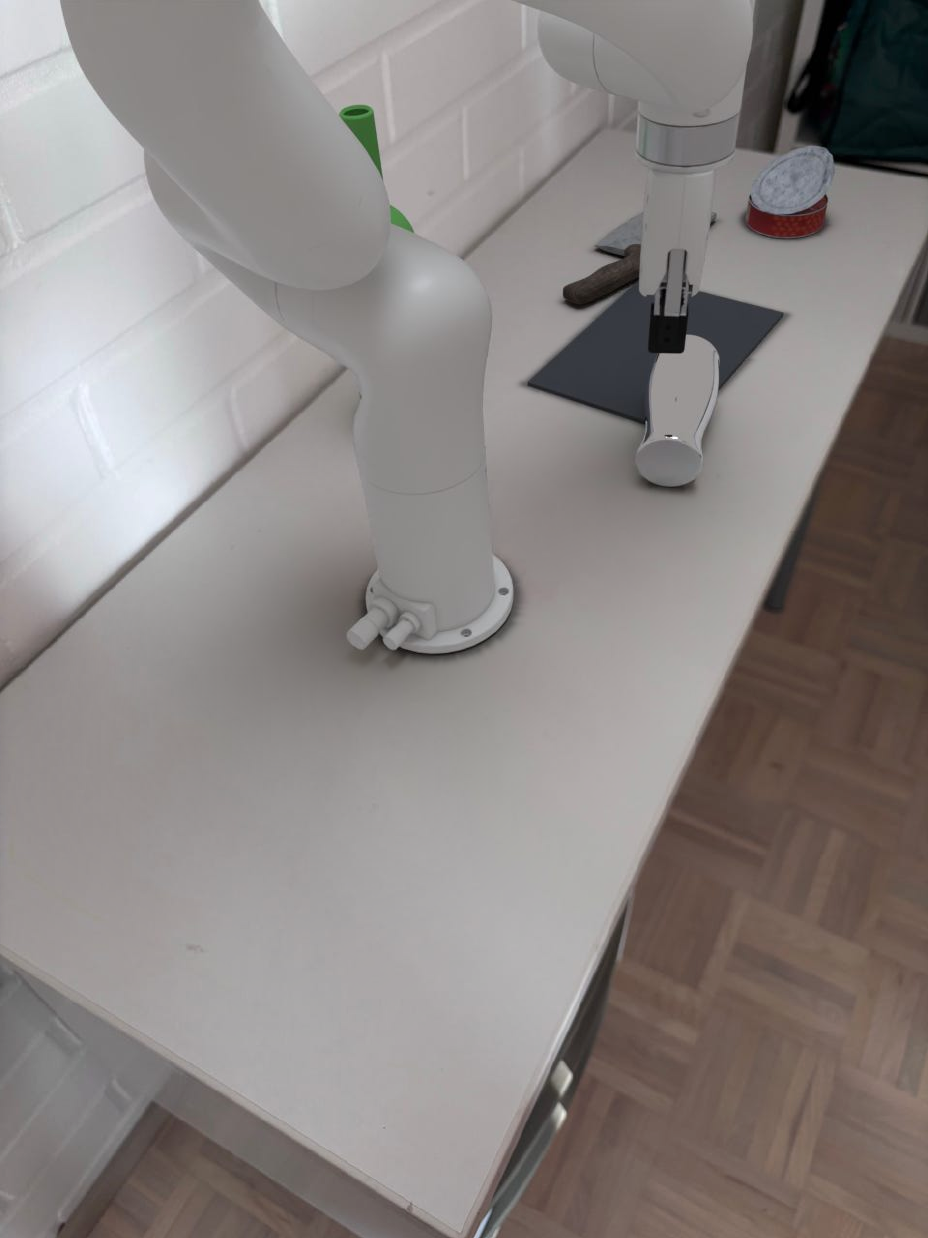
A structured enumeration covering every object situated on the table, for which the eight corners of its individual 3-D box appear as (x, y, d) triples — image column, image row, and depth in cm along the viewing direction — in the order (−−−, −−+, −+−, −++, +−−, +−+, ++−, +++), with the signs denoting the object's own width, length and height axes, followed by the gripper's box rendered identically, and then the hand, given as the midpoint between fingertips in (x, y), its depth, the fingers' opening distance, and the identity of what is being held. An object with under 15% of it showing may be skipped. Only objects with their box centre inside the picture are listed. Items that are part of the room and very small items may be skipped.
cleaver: (597, 314, 111) (597, 298, 109) (530, 292, 115) (529, 276, 114) (722, 219, 125) (724, 203, 124) (658, 203, 130) (659, 187, 129)
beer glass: (690, 425, 83) (706, 322, 91) (618, 445, 87) (640, 345, 95) (718, 480, 87) (732, 377, 96) (648, 497, 91) (667, 397, 100)
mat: (679, 434, 94) (679, 431, 94) (527, 385, 102) (527, 381, 102) (783, 315, 108) (783, 312, 108) (642, 279, 116) (642, 276, 116)
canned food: (816, 262, 125) (847, 211, 115) (740, 258, 125) (765, 207, 115) (811, 189, 128) (841, 134, 118) (737, 185, 128) (761, 129, 118)
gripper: (639, 98, 77) (626, 305, 91) (633, 176, 67) (620, 395, 81) (733, 96, 76) (706, 306, 90) (741, 175, 66) (710, 397, 80)
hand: (665, 348), depth 85 cm, fingers closed
